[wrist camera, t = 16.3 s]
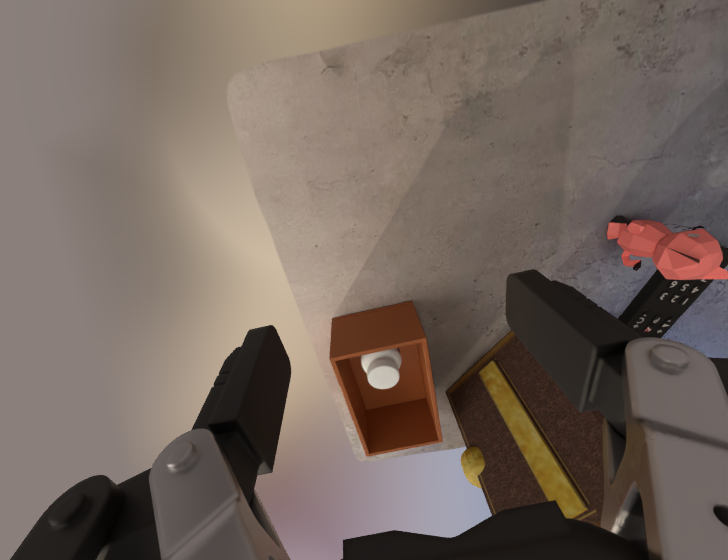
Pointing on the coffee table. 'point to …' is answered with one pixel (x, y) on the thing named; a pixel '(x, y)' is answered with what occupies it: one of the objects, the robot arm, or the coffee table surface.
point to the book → (527, 436)
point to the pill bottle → (382, 368)
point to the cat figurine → (669, 249)
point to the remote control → (663, 302)
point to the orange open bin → (393, 405)
